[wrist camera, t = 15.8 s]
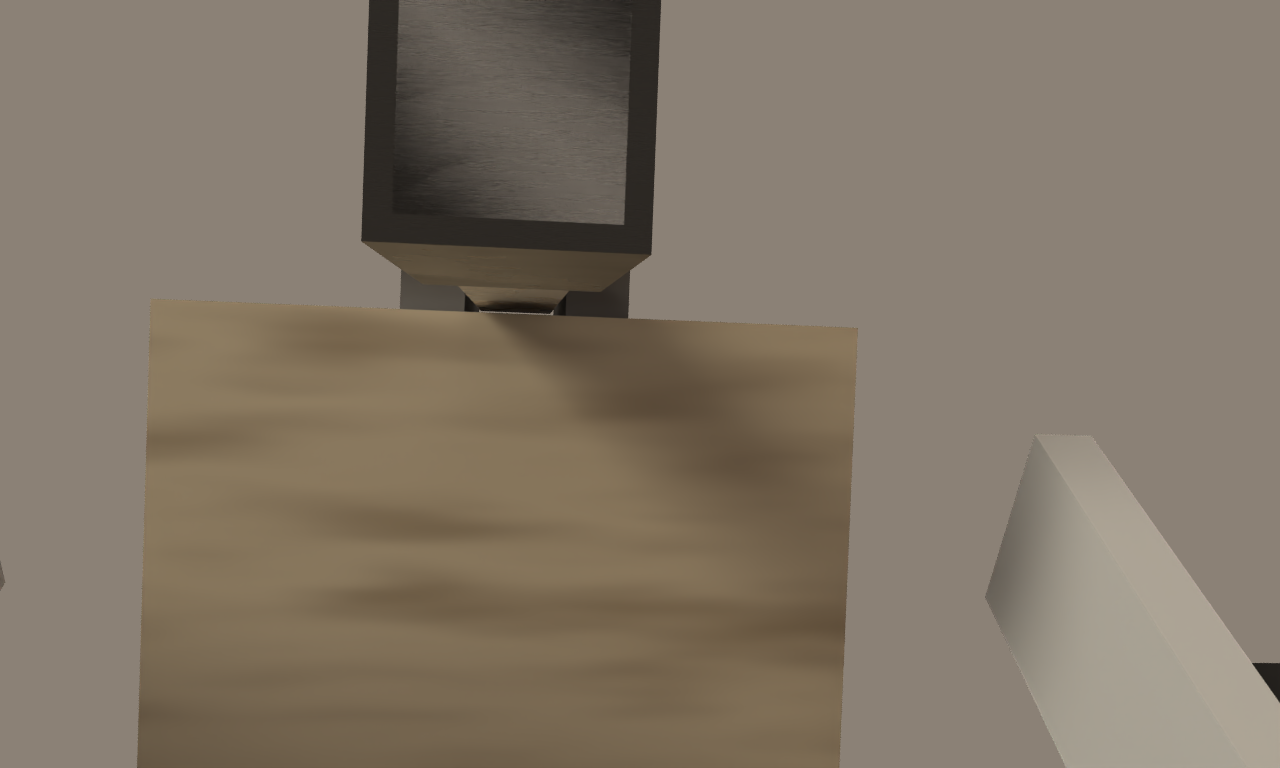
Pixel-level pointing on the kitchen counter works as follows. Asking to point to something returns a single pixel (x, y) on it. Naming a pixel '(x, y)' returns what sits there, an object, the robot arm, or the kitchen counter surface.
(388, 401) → the oak stand
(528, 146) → the grey square bar
